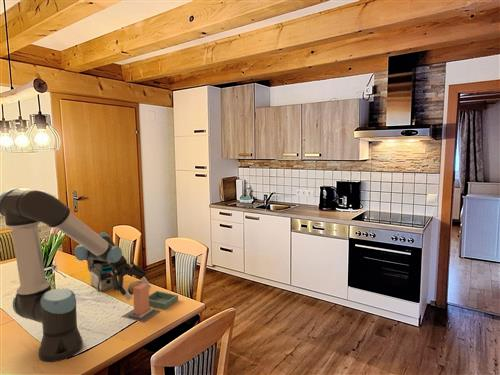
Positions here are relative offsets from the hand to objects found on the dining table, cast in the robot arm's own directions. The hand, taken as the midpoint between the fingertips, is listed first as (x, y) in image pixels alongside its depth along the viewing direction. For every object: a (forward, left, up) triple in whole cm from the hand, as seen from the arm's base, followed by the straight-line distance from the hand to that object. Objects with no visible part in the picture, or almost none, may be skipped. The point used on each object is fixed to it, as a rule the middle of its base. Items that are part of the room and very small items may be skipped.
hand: (140, 293), depth 156 cm
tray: (+11, -5, -10) cm, 16 cm away
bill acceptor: (+24, +40, -10) cm, 47 cm away
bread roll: (+22, +16, -11) cm, 30 cm away
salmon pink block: (-2, -2, -9) cm, 10 cm away
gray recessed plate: (-2, -2, -10) cm, 10 cm away
